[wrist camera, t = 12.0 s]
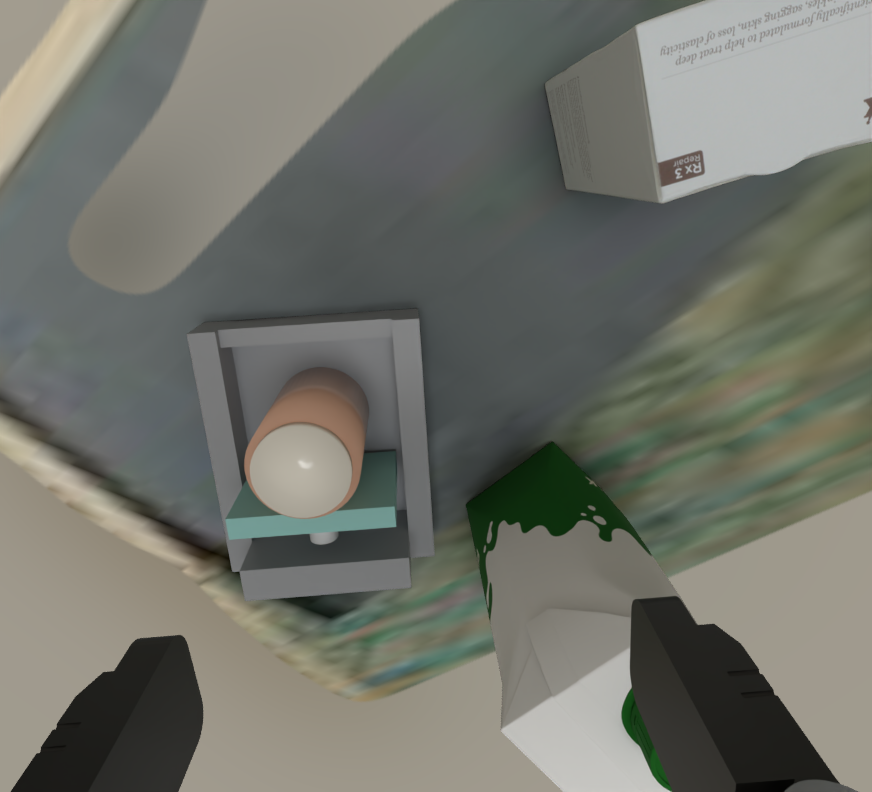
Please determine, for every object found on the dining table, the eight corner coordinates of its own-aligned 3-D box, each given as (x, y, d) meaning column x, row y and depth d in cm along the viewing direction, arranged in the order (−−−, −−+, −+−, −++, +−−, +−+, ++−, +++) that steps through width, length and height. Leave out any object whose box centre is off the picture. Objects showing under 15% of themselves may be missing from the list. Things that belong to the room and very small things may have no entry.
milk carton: (629, 514, 41) (820, 790, 22) (521, 588, 43) (616, 906, 24) (555, 421, 39) (701, 643, 20) (444, 503, 40) (480, 782, 21)
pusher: (395, 450, 38) (394, 506, 31) (399, 497, 39) (399, 560, 32) (256, 461, 38) (225, 519, 31) (263, 507, 39) (235, 572, 32)
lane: (417, 308, 36) (420, 330, 30) (432, 530, 41) (437, 585, 35) (203, 322, 36) (166, 347, 30) (244, 545, 40) (218, 603, 35)
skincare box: (687, 38, 32) (909, -79, 18) (703, 156, 34) (915, 133, 20) (534, 86, 33) (635, 8, 18) (558, 200, 34) (666, 208, 20)
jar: (364, 363, 36) (353, 414, 28) (373, 449, 38) (365, 520, 30) (270, 370, 36) (232, 423, 28) (283, 456, 38) (251, 529, 30)
